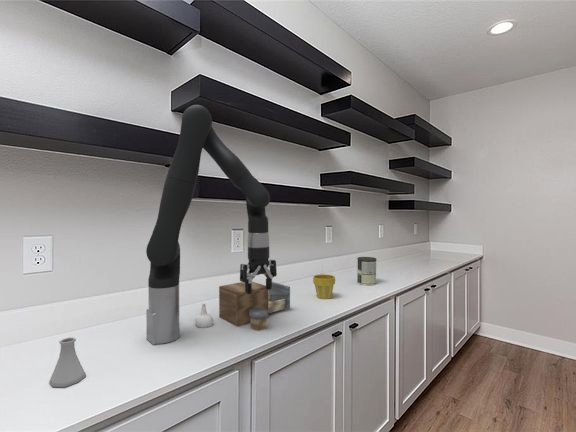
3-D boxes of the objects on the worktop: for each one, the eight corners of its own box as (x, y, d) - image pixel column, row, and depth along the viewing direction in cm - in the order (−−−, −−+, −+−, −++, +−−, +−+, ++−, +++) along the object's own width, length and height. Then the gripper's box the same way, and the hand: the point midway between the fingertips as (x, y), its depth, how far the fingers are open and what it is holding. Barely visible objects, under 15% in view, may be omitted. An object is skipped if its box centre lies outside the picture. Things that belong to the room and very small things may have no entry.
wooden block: (257, 330, 109) (257, 319, 109) (250, 327, 112) (250, 316, 112) (266, 327, 112) (266, 316, 112) (259, 324, 115) (259, 313, 115)
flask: (42, 384, 76) (41, 343, 75) (72, 370, 83) (72, 332, 82) (63, 391, 73) (62, 348, 73) (92, 375, 80) (92, 336, 80)
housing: (237, 326, 113) (237, 293, 112) (219, 317, 122) (219, 286, 122) (268, 317, 122) (268, 286, 122) (249, 309, 131) (249, 280, 131)
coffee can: (353, 283, 177) (353, 258, 177) (364, 280, 184) (364, 256, 184) (369, 286, 170) (369, 260, 169) (379, 283, 177) (380, 258, 176)
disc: (256, 321, 107) (256, 315, 107) (245, 316, 112) (245, 310, 112) (271, 316, 112) (271, 311, 111) (260, 312, 116) (260, 306, 116)
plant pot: (308, 296, 151) (308, 276, 150) (323, 292, 157) (323, 273, 157) (324, 301, 143) (324, 280, 143) (339, 297, 150) (339, 276, 149)
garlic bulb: (215, 323, 117) (215, 301, 118) (210, 328, 111) (210, 305, 111) (198, 323, 117) (198, 301, 118) (192, 328, 111) (192, 304, 112)
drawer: (262, 316, 120) (262, 292, 120) (243, 308, 130) (243, 286, 129) (292, 308, 131) (292, 286, 130) (272, 301, 140) (272, 280, 140)
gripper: (247, 248, 103) (248, 297, 104) (281, 244, 113) (281, 289, 113) (235, 246, 109) (235, 293, 109) (267, 242, 118) (268, 286, 119)
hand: (259, 291), depth 111 cm, fingers open, 8 cm apart
